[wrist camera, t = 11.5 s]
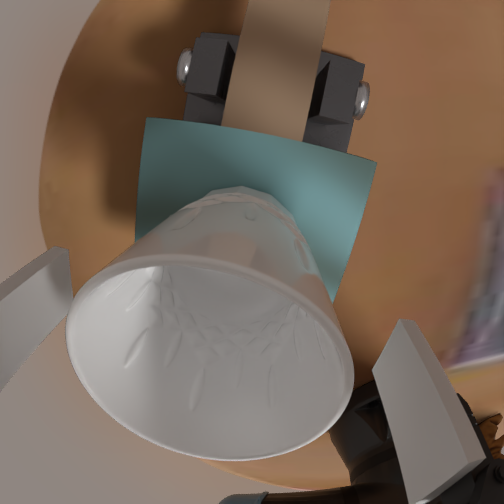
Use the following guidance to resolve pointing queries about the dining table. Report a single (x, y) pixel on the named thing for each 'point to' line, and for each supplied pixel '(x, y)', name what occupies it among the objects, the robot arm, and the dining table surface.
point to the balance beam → (263, 140)
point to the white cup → (215, 333)
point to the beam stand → (322, 102)
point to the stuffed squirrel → (493, 436)
